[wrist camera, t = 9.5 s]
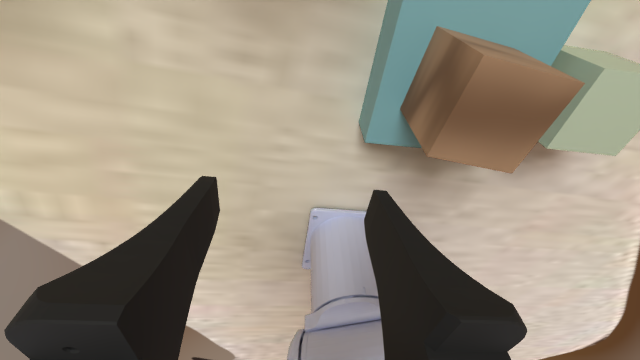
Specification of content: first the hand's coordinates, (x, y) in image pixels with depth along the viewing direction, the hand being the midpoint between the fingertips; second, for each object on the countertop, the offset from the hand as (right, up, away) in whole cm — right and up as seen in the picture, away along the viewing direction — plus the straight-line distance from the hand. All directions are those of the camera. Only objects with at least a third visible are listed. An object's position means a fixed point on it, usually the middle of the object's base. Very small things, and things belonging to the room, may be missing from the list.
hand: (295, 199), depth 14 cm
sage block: (+18, +8, +8) cm, 21 cm away
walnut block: (+9, +7, +4) cm, 12 cm away
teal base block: (+10, +9, +7) cm, 15 cm away
